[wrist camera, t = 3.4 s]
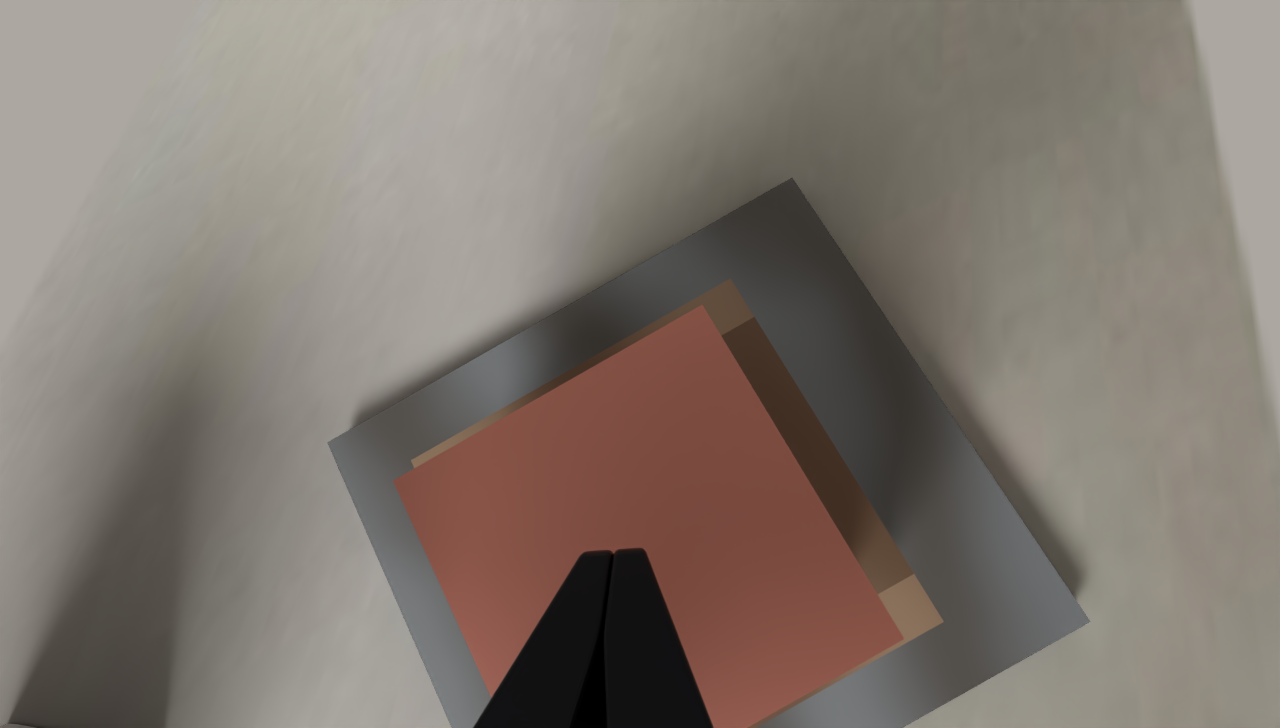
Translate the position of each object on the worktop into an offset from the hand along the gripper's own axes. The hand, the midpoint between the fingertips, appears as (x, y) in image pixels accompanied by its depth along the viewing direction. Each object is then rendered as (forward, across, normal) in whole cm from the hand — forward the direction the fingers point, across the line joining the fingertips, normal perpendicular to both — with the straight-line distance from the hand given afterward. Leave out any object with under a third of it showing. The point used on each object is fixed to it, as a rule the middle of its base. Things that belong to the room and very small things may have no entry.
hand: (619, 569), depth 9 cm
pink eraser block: (+5, 0, +5) cm, 7 cm away
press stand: (+10, 0, +10) cm, 14 cm away
